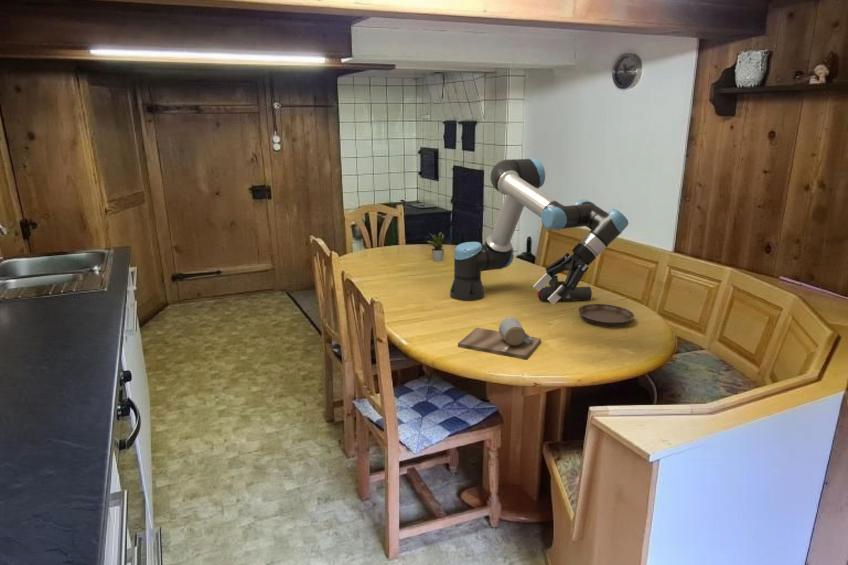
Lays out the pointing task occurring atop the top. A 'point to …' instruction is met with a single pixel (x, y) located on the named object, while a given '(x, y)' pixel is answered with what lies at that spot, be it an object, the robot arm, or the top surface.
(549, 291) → the laser sight
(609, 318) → the plant saucer
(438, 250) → the house plant
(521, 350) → the board
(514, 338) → the ceramic mug
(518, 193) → the robot arm
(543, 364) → the top surface
